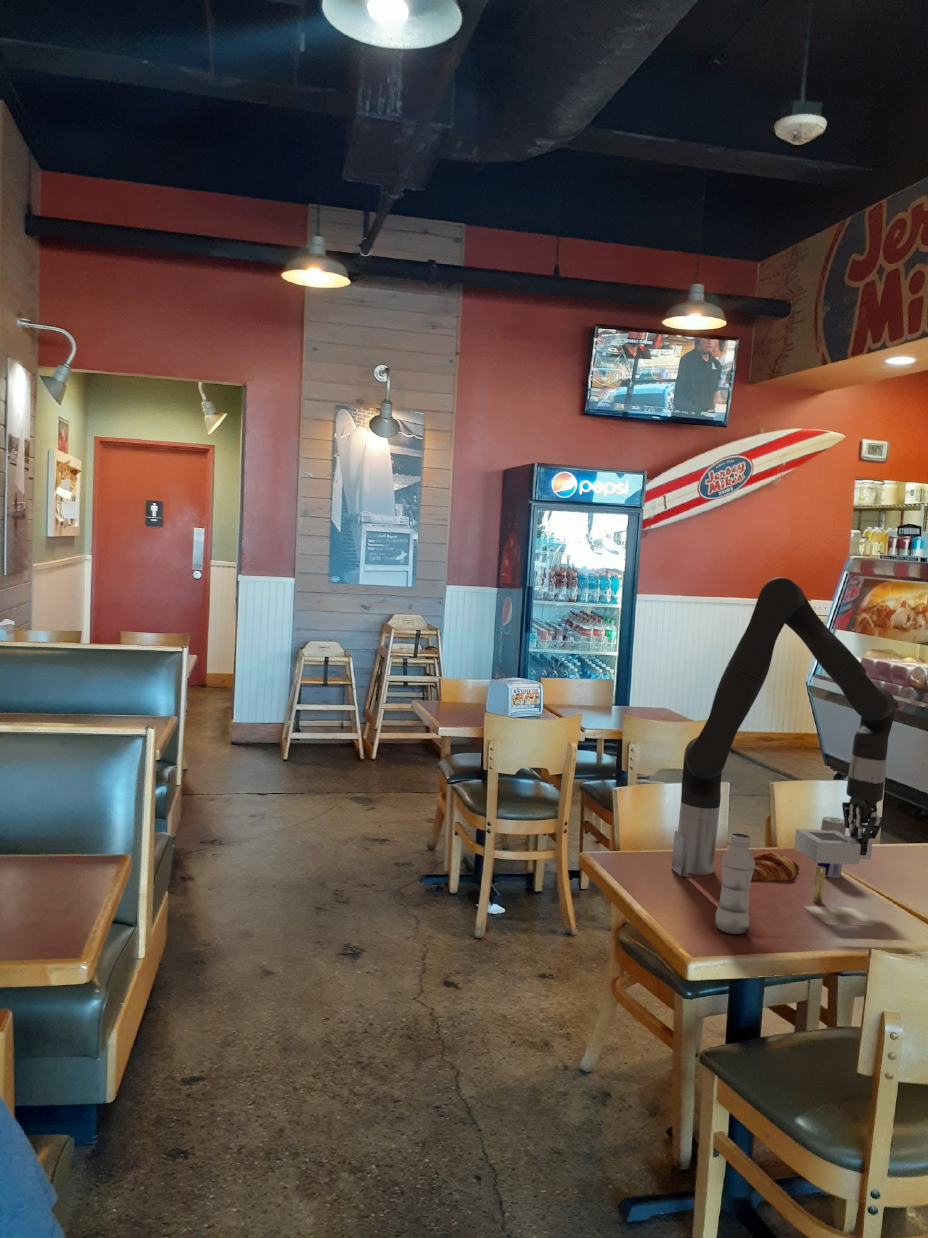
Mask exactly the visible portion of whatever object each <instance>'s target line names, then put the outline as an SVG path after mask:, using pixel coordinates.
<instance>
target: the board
mask: <svg viewBox="0 0 928 1238" xmlns="http://www.w3.org/2000/svg"><path fill="white" fill-rule="evenodd" d="M802 907H803V908H804V909H806V911H808V912H809V913H811V914H812V915H813V916H814V917H816V918H817V919H819V921H821V922H823V923H824V924H825V925H835V926H836V925H838V926H840V925H842V926H867V927H868V926H869V927H870V926H872V927H880V925H879V924H878V923H877V922H875V921H874V920H872V919H870V918H869V917H868V916H866V915H865V914H863V913H862V912H861V911H860V910H858V909H856V908H855V907H841V906H840V907H839V906H836V907H835V906H813V905H811V906H810V905H809V906H807V905H806V906H805V905H803V906H802Z"/></svg>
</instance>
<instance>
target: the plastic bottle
mask: <svg viewBox="0 0 928 1238" xmlns="http://www.w3.org/2000/svg"><path fill="white" fill-rule="evenodd" d="M729 843H730V846H729V847H728V848H727V849H726V851H725V852H724V853H723V854H722V857H721V891H720V894H719V895H720V897H719V901H718V906H717V908H716V911H715V918H714V919H715V926H716V927H717V929H719V930H720V931H721V932H724V933H726V934H727V933H728V934H731V935H740V934H741V935H742V934H745V932H746V931H747V930H748V927H749V924H750V915H749V913H750V912H749V895H750V889H751V882H752V880H751V879H752V875H753V871H754V868H755V860H754V857H755V856H754V855H753V854H752V852H751V850H750V849H749V847H750V846H751V837H750V835H748V834H745V833H740V832H732V833H730V839H729Z"/></svg>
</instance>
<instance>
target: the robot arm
mask: <svg viewBox="0 0 928 1238" xmlns="http://www.w3.org/2000/svg"><path fill="white" fill-rule="evenodd" d="M758 594H759V595H758V597H757V600H756V603H755V606H754V609H753V612H752V614H751V617H750V620H749V623H748V625H747V627H746V630H745V631H744V633H743V635H742V636H741V638H740V640H739V643H738V644H737V645H736V648H735V649H734V652H733V654H732V656H731V658H730V659H729V662H727V666H726V667H725V669H724V671H723V673H722V676H721V678H720V681H719V682H718V684H717V685H718V686H717V688H716V692H715V695H714V697H713V701H712V705H711V709H710V712H709V716H708V718H707V720H706V722H705V724H704V726H703V728H702V730H701V732H700V733H699V735H698V736H697V737H695V738H692V739H691V740H690V741H689V742H688V743H687V745H686V747H685V750H684V757H683V765H682V766H683V767H682V778H681V791H680V792H681V795H680V806H679V807H680V808H679V817H678V827H677V830H675V831H674V836H673V848H672V856H671V857H672V858H671V869H672V871H674V873H676V874H677V875H678V876H679V877H684V878H685V877H686V878H691V879H693V877H692V875H699V876H706V875H707V876H708V875H712V874H713V873H714V870H715V862H716V861H715V858H716V848H717V838H718V828H719V826H718V825H719V817H720V809H721V808H720V807H721V799H722V796H721V795H722V794H721V792H722V790H721V789H722V787H721V785H722V774H723V770H724V768H725V766H726V763H727V759H728V757H729V754H730V751H731V748H732V746H733V743H734V740H735V738H736V735H737V733H738V731H739V729H740V727H741V725H742V724H743V722H744V721H745V719H746V717H747V716H748V714H749V712H750V711H751V708H752V706H753V705H754V703H755V701H756V699H757V698H758V695H759V694H760V691H761V689H762V687H763V686H764V683H765V681H766V678H767V676H768V675H769V671H770V667H771V663H772V659H773V654H774V649H775V645H776V642H777V639H778V637H779V635H780V634H781V631H782V630H783V628H784V626H785V625H786V626H787V627H788V628H789V629H791V630H792V631H793V632H794V633H795V634H796V635H797V636H798V637H799V638H800V639H801V641H802V642H803V643H804V644H805V646H806V647H807V649H808V650H809V651H810V653H811V655H812V656H813V657H814V658H815V659H814V660H815V661H816V662H817V663H818V665H819V666H820V667H821V668H822V669H823V670H824V672H825V673H826V674H827V675H828V676H829V677H830V678H831V680H832V681H833V682H834V683H835V684H836V686H838V687H839V688H840V690H841V692H842V693H843V695H844V696H845V698H846V700H847V701H848V702H849V704H850V706H851V707H852V709H853V710H854V712H856V713H857V714H858V716H860V722H859V723H860V724H859V728H858V729H857V731H856V732H855V734H854V737H853V738H854V739H853V744H852V752H851V758H850V763H849V768H848V774H847V775H848V777H847V784H846V792H845V793H846V795H847V797H850V799H849V802H847V801H844V802H843V801H842V804H841V806H842V814H843V815H842V816H843V820H844V823H845V828H846V829H848V833H849V836H858V838H857V842H858V843H859V844H861V849H860V855H866V854H867V847H868V840H869V839H872V840H875V839H876V838H877V836H878V833H879V832H880V830H881V828H882V826H883V824H884V821H885V820H884V817H883V816H879V815H878V807H877V804H878V802H881V801H882V800H883V799H884V789H885V782H886V773H887V756H888V748H889V738H890V737H889V736H890V733H891V731H892V730H891V729H892V727H893V722H894V718H895V713H896V700H895V697H894V695H893V694H892V693H891V691H889V690H887V689H885V688H883V687H878V686H877V685H875V684H874V682H873V681H872V680H871V679H870V677H869V676H868V674H867V670H866V668H865V666H863V664H862V663H861V662H860V661H859V659H858V658H857V657H856V656H855V655H854V654H853V653H852V652H851V650H850V649H849V648H847V646H846V645H845V644H844V643H843V642H842V641H841V640H840V639H839V638H838V637H837V636H836V635H835V634H834V633H833V632H832V631H831V630H830V629H829V628H828V627H827V626H826V624H825V623H824V622H823V621H822V619H820V617H819V616H818V614H817V613H816V612H815V610H814V609H813V606H812V605H811V604H810V602H809V600H808V598H807V597H806V595H805V593H804V591H803V589H802V588H801V587H800V585H799V584H797V583H796V582H794V581H793V580H791V579H790V578H787V577H782V576H781V577H780V576H779V577H775V578H772V579H770V580H768V581H767V582H766V583H765V584H764V585H763V586H762V588H761V590H760V591H759V593H758Z"/></svg>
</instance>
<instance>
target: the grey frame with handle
mask: <svg viewBox="0 0 928 1238" xmlns="http://www.w3.org/2000/svg"><path fill="white" fill-rule="evenodd" d="M794 837H795V838H794V850H796V851H798V852H799V853H801V854H802V855H803V856H805V857H806V858H808V859H810V860H811V861H813V862H814V863H815V864H818V863H833V864H842V865H858V866H859V864H860V860H865V861H866V860H867V861H869V860H871V859H872V849H873V841H874V839H869V840H868V847H867V854H866V855H860V849H861V844H859V843H858V842H857V838H858V836H850V835H846V834H845V835H844V834H842V833H840V832H838V831H828V830H821V829H802V828H801V829H800V828H798V829H797V828H796V829H795V836H794Z"/></svg>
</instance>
